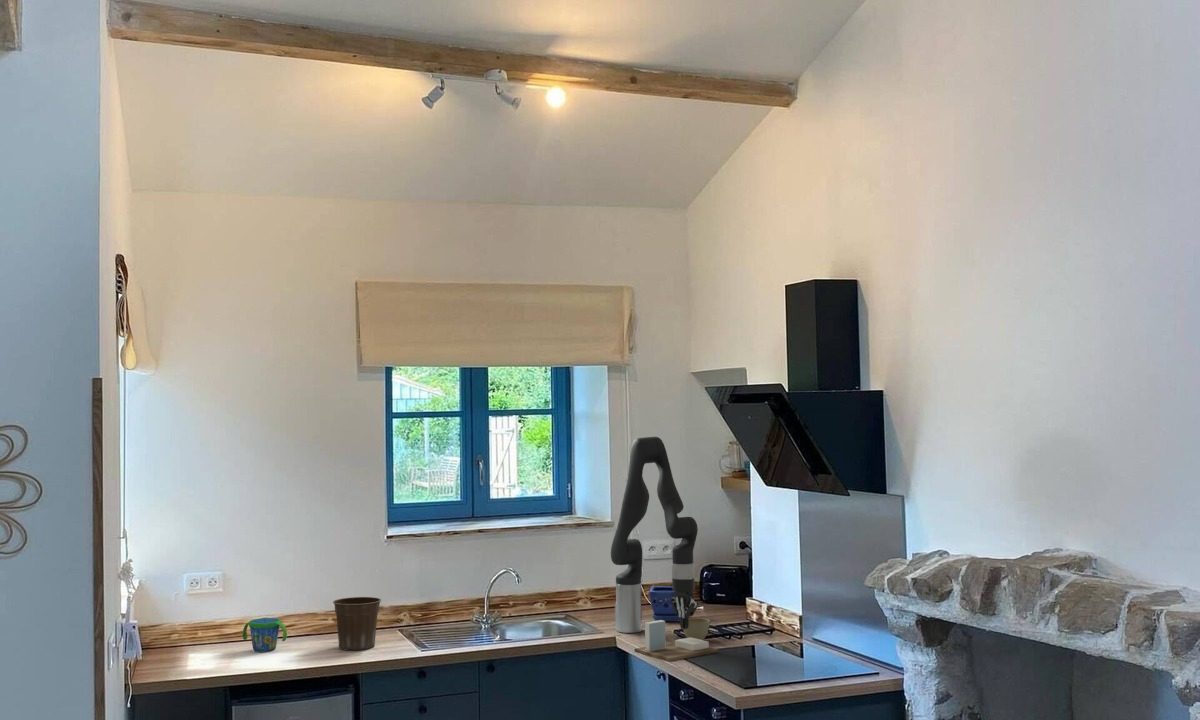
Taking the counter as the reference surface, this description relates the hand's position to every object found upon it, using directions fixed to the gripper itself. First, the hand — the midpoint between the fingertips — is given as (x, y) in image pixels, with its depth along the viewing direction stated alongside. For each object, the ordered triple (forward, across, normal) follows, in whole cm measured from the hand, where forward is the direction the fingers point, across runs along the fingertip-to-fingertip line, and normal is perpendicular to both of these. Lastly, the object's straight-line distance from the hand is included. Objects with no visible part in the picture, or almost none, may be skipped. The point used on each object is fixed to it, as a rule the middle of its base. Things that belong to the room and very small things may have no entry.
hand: (684, 628), depth 351 cm
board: (+7, +2, -5) cm, 9 cm away
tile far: (+4, -1, 0) cm, 5 cm away
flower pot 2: (+7, -7, +11) cm, 15 cm away
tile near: (+6, -2, -11) cm, 12 cm away
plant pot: (+7, -75, -85) cm, 114 cm away
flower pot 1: (+7, -44, +29) cm, 53 cm away
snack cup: (+7, -91, -112) cm, 144 cm away
